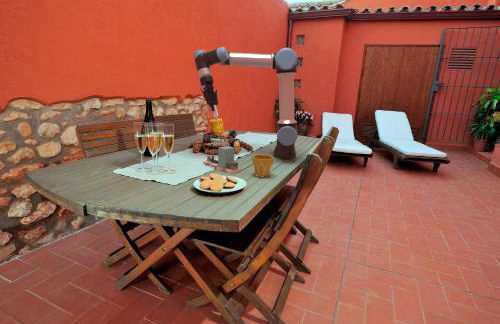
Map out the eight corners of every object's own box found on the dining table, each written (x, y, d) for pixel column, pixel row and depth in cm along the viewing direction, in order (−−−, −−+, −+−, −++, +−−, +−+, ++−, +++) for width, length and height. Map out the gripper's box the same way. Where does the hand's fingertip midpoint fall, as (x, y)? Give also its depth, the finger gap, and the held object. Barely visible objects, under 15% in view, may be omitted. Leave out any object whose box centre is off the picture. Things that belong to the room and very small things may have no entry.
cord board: (203, 164, 156) (203, 155, 154) (214, 162, 161) (214, 153, 160) (229, 174, 141) (230, 164, 140) (241, 171, 147) (241, 162, 145)
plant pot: (247, 175, 140) (248, 156, 138) (257, 171, 149) (258, 153, 147) (266, 180, 136) (268, 160, 133) (275, 175, 145) (276, 156, 142)
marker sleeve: (218, 165, 148) (218, 147, 145) (227, 163, 153) (228, 146, 150) (224, 168, 145) (225, 149, 142) (233, 166, 149) (234, 147, 147)
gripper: (207, 81, 171) (217, 119, 170) (193, 78, 160) (204, 118, 159) (217, 76, 167) (227, 115, 166) (203, 73, 156) (214, 113, 155)
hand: (216, 116), depth 163 cm, fingers closed
